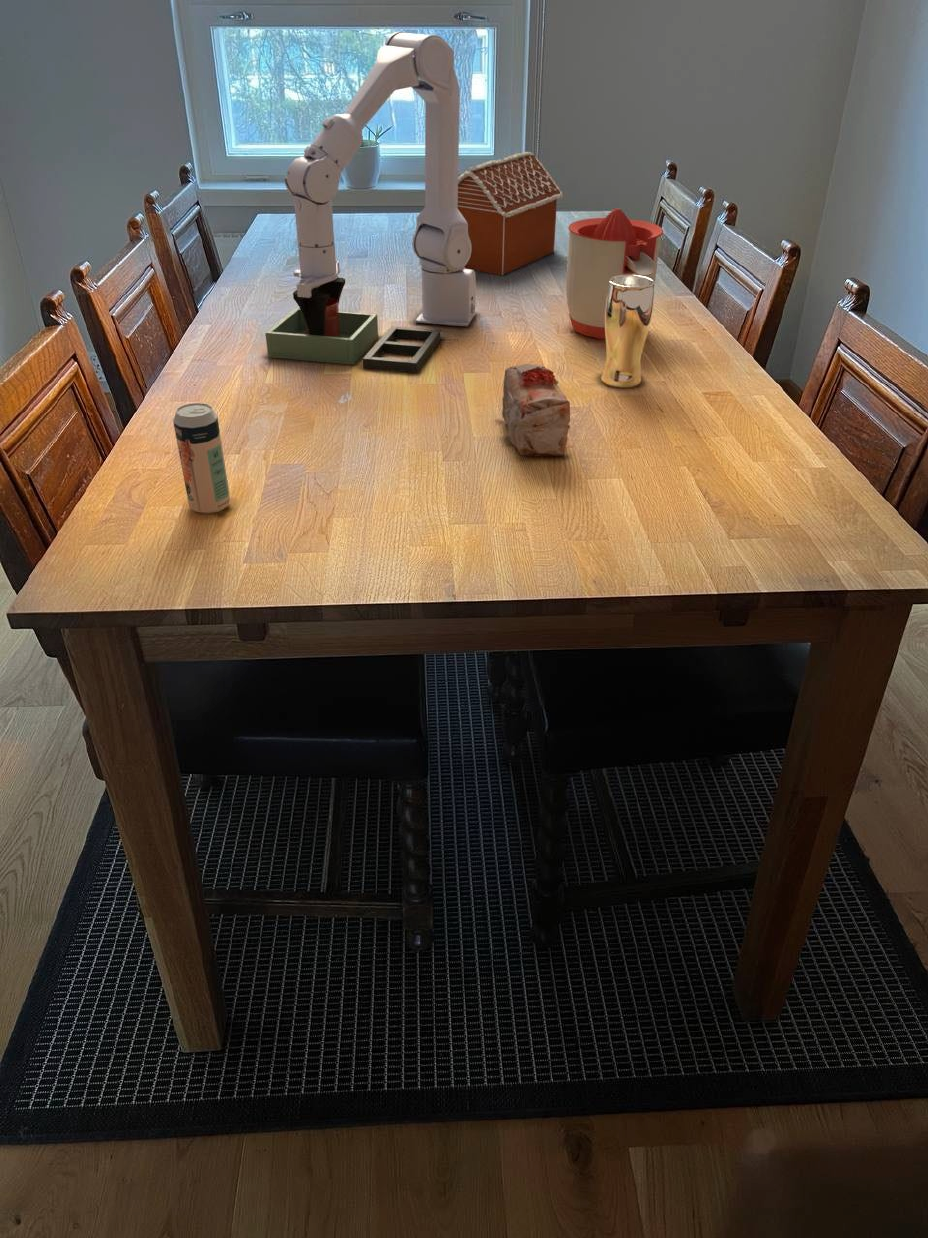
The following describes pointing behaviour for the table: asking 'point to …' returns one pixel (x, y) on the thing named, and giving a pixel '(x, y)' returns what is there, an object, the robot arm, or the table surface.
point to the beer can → (202, 457)
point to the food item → (535, 411)
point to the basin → (322, 339)
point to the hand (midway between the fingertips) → (323, 329)
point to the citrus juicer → (605, 264)
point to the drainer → (402, 349)
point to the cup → (331, 319)
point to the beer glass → (626, 328)
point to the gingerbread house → (508, 212)
